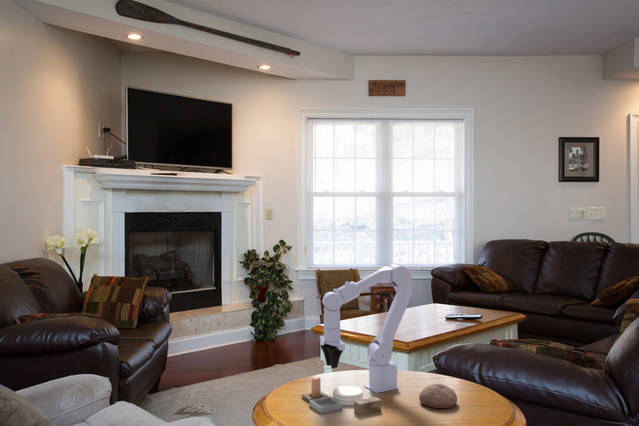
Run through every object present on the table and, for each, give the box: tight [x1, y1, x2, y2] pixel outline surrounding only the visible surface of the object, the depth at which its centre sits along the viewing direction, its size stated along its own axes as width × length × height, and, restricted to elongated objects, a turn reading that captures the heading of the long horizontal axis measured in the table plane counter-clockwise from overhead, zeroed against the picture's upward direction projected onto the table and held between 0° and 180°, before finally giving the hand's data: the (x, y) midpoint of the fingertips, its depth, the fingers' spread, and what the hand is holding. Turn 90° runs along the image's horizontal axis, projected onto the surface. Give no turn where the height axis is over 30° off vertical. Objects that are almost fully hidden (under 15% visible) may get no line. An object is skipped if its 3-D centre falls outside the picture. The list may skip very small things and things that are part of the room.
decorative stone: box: [418, 383, 458, 409], centre depth 174 cm, size 12×12×6 cm
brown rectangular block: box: [353, 396, 382, 416], centre depth 167 cm, size 8×3×4 cm, turn 118°
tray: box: [309, 396, 343, 415], centre depth 170 cm, size 8×8×2 cm
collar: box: [301, 391, 330, 404], centre depth 178 cm, size 7×7×1 cm
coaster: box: [332, 385, 364, 406], centre depth 177 cm, size 10×10×4 cm
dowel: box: [310, 376, 322, 399], centre depth 178 cm, size 3×3×7 cm
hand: (332, 366), depth 186 cm, fingers open, 3 cm apart
